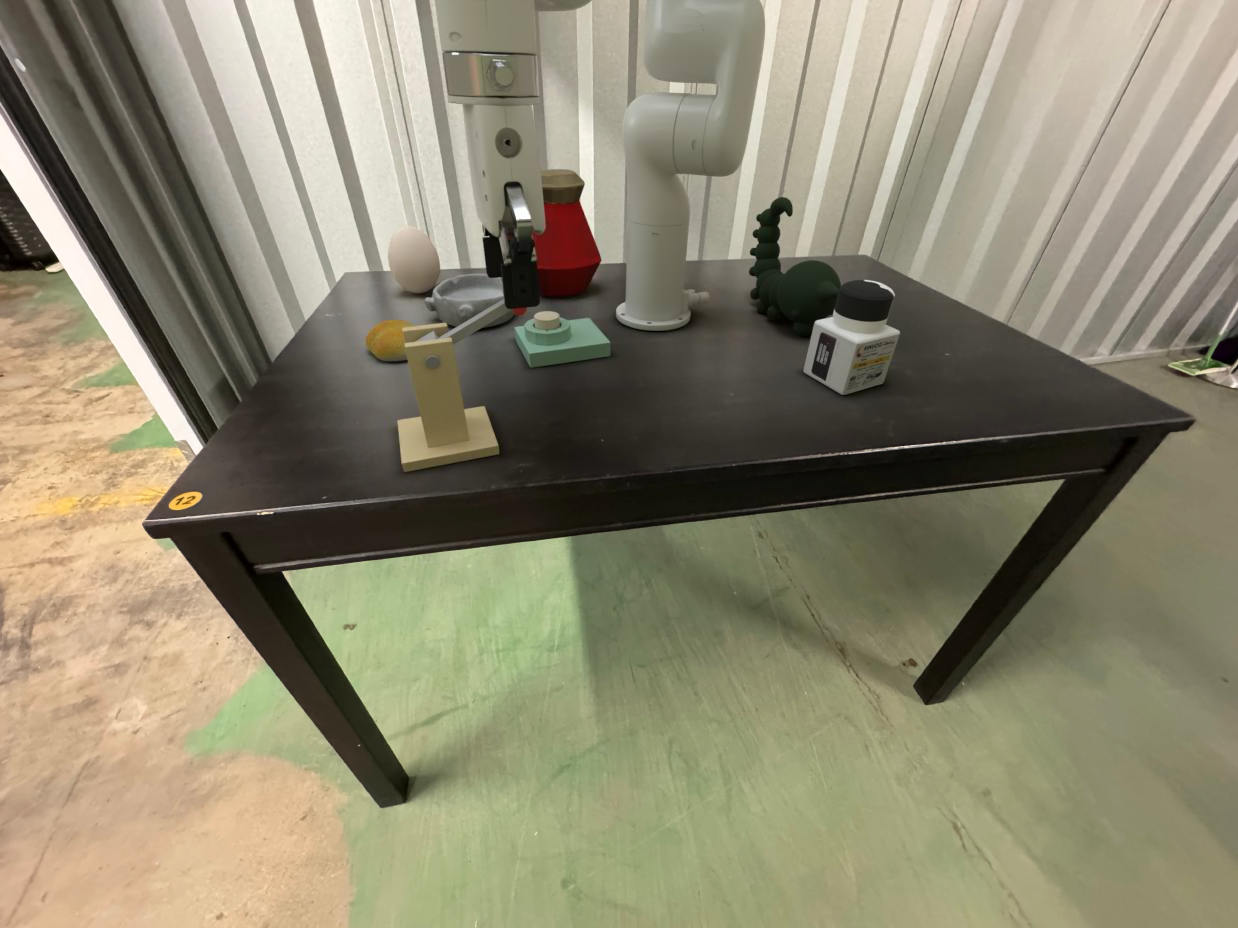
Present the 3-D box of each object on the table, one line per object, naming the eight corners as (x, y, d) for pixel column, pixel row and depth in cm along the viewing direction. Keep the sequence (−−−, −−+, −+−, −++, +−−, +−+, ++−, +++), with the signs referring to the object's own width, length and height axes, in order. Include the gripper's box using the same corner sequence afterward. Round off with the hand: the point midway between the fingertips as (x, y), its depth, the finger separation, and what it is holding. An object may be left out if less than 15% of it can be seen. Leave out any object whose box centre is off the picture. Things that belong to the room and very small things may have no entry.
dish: (489, 295, 101) (486, 267, 98) (536, 316, 93) (534, 287, 90) (417, 315, 92) (410, 285, 89) (461, 340, 84) (456, 308, 82)
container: (842, 396, 72) (871, 299, 64) (801, 372, 77) (823, 280, 70) (884, 384, 75) (916, 290, 67) (841, 362, 80) (866, 272, 73)
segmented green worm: (730, 307, 102) (800, 352, 82) (741, 195, 92) (824, 212, 72) (776, 304, 104) (856, 346, 83) (792, 193, 94) (887, 210, 74)
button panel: (589, 330, 88) (589, 306, 86) (610, 356, 81) (610, 330, 78) (515, 340, 85) (512, 315, 82) (530, 368, 77) (528, 341, 75)
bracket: (485, 414, 67) (470, 312, 59) (499, 454, 60) (484, 345, 53) (399, 428, 64) (372, 323, 56) (404, 472, 57) (373, 360, 50)
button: (556, 321, 82) (555, 309, 81) (562, 330, 79) (562, 318, 78) (532, 324, 81) (531, 312, 80) (538, 333, 78) (537, 321, 77)
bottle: (587, 275, 111) (585, 163, 99) (613, 296, 101) (615, 175, 89) (511, 284, 106) (499, 167, 94) (531, 307, 96) (521, 180, 84)
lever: (521, 298, 58) (509, 278, 57) (532, 315, 55) (520, 294, 53) (423, 357, 58) (408, 339, 57) (427, 377, 55) (412, 359, 53)
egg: (454, 292, 102) (443, 226, 95) (412, 304, 97) (398, 235, 90) (427, 281, 106) (415, 218, 100) (386, 292, 101) (370, 226, 94)
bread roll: (385, 369, 76) (378, 342, 74) (361, 347, 82) (354, 322, 79) (440, 353, 81) (435, 327, 78) (414, 333, 86) (409, 309, 84)
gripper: (566, 86, 40) (572, 316, 50) (515, 81, 53) (529, 264, 63) (459, 84, 37) (489, 326, 47) (434, 79, 50) (461, 269, 60)
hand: (511, 290), depth 55 cm, fingers open, 9 cm apart
